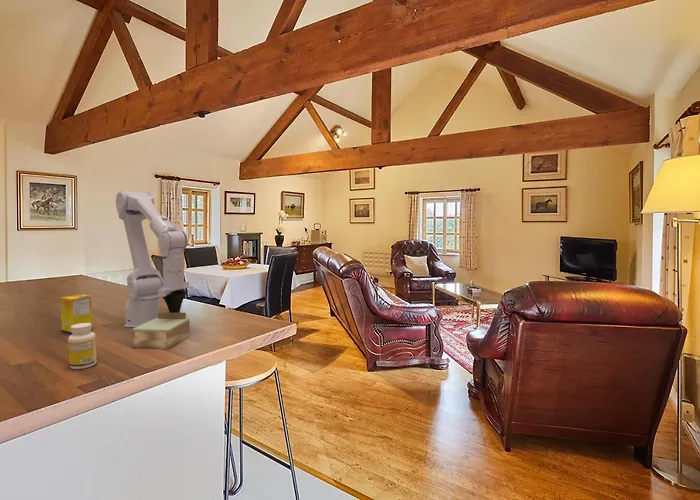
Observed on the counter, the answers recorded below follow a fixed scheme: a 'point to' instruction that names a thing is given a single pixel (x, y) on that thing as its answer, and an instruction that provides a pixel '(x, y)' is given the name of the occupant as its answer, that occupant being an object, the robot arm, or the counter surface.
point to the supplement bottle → (82, 346)
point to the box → (160, 337)
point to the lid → (163, 322)
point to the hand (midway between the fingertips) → (174, 315)
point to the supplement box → (75, 311)
